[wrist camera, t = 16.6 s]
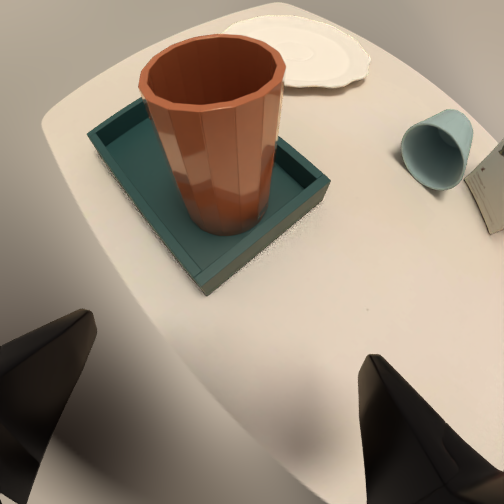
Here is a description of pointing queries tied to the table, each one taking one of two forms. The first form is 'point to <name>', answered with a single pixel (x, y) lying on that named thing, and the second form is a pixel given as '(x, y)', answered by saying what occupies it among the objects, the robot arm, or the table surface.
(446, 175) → the cup
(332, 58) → the plate
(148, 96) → the tumbler
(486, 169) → the white packaging box
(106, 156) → the tray
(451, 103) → the table surface
